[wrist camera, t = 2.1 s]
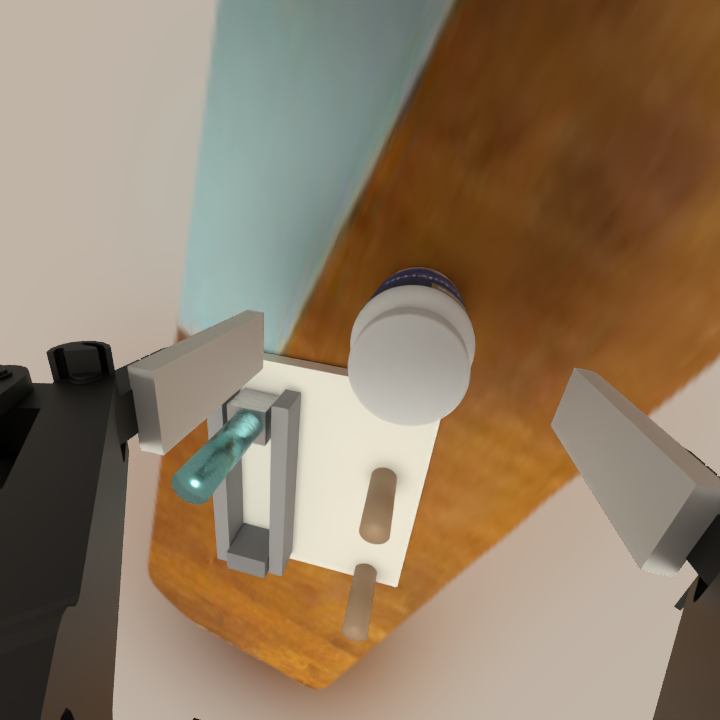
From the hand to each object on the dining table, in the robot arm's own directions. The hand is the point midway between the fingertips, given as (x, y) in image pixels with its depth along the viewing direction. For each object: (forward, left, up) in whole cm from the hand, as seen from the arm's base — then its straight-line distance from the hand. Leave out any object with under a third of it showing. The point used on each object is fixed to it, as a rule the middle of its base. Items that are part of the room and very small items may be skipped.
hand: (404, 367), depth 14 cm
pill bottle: (0, 0, -8) cm, 8 cm away
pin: (+9, -10, -7) cm, 15 cm away
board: (+15, -5, -8) cm, 17 cm away
